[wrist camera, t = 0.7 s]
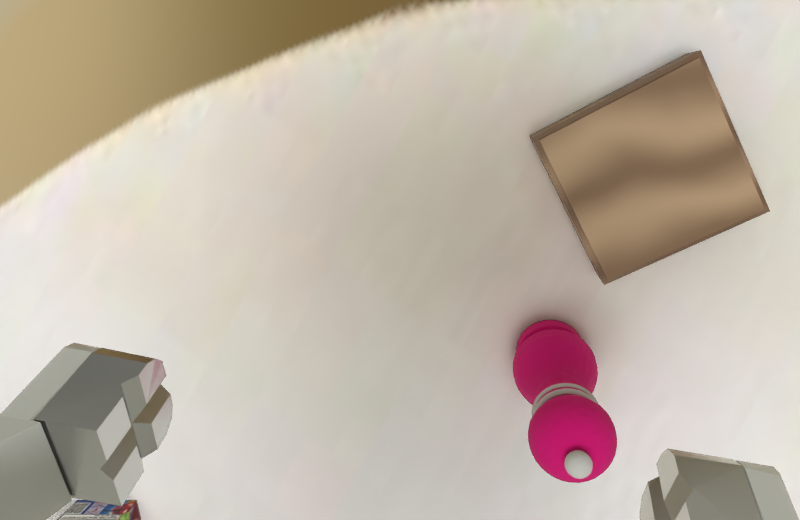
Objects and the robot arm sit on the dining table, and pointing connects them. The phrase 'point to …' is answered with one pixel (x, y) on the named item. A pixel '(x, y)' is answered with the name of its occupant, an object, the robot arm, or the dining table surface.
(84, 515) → the juice carton
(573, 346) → the pepper mill
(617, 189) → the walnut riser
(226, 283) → the dining table surface
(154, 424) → the robot arm
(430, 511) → the dining table surface
